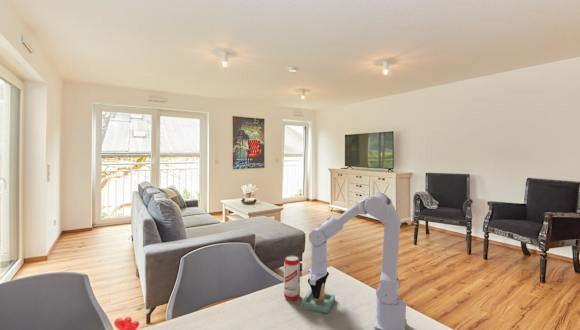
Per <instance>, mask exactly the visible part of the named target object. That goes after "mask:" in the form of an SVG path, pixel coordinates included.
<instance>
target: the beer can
mask: <svg viewBox="0 0 580 330" xmlns="http://www.w3.org/2000/svg"><path fill="white" fill-rule="evenodd" d="M283 269H284V270H283V297H285V299H286V300H287V301H291V302H292V301H297V300H298V299H299V298H300V297H301V296H300V295H301V294H300V293H301V263H300V259H299V257H298V256H297V255H294V254H293V255H288V256H286V257H285V260H284V261H283Z"/></svg>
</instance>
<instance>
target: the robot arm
mask: <svg viewBox="0 0 580 330" xmlns="http://www.w3.org/2000/svg"><path fill="white" fill-rule="evenodd" d="M367 214H368V215H369V216H372V217H373V218H375V219H377V220H379V222H380V223H382V224H383V225H384V226H383V243H382V256H381V257H382V258H381V259H382V261H381V262H382V263H381V273H380V278H379V283H378V284H379V285H378V286H377V288H376V290H375V295H376V314H375V319H374V323H373V328H374V329H378V330H406V326H407V319H406V317H407V301H404V300H402V299H400V296H399V290H400V288H401V282H400V279H399V275H398V274H399V272H398V264H399V251H400V250H399V249H400V248H399V247H400V232H401V231H400V230H401V217H400V215H399V213H398V211H397V210H396V208H395V205H394V204H393V201H392V198H390V197H389V196H388V195H387V194H385V193H383V192H380V191H379V192H375V193H372V195H371V196H370V195H369V196H367V197H365V198H363V199H362V200H359V201H358V202H356V203H355V204H353V205H352V206H351V207H349V209H347V210H345V211H344V212H343V213H342V214H340V215H339V216H337V215H333V216H329V217H326V221H324V222H323V223H322V224H321V223H320V224H318V225H317V227H316V228H315V229H312V230H311V232H310V233H309V234H308V240H309V242H310V243H311V244H310V245H311V249H310V250H311V252H310V253H311V254H310V259H311V262H310V263H311V264H310V265H311V266H310V268H308V270H307V272H309V273H310V277H309V278H308V279H307V283H308V285H309V287H310V290H312V294H313V298H316V299H319V297H320V292H321V287H322V284H323V283H324V284H325V285H326V282H327V279H328V277H329V274H330V272H329V271H328V264H327V261H328V260H327V241H328V240H330V239H331V238H332V237H334V236H335V235H337V234H338V233H340V232H341V231H343V230H344V224H346V223H348V222H349V221H351V220H352V219H354V218H356V217H357V216H359V215H363V216H364V215H365V216H366V215H367ZM319 280H320V281H319ZM322 281H323V282H322Z"/></svg>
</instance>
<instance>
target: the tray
mask: <svg viewBox="0 0 580 330" xmlns="http://www.w3.org/2000/svg"><path fill="white" fill-rule="evenodd" d="M335 301H336V295H335V294H331V293H329V292H327V293H326V292H325V300H324V301H323V302H315V301H313V299H312V290H311V289H310V290H309V291H308V292H307V294H306V295H305V296H304V298H303V299H302V301H301V306H300V307H301V308H302V309H306V310H310V311H313V312H316V313H321V314H324V315H328V313H329V312H330V310H331V309H332V306H333V304H334V303H335Z"/></svg>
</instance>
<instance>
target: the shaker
mask: <svg viewBox="0 0 580 330" xmlns="http://www.w3.org/2000/svg"><path fill="white" fill-rule="evenodd" d="M319 281H320V280H319ZM322 282H323V281H322ZM325 290H326V283H325V284H324V283H323V284H322V287H321V292H320V297H319V299H316V298H313V294H312V299H313V301H315V302H323V301H324V300H325V293H326V291H325Z"/></svg>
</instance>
